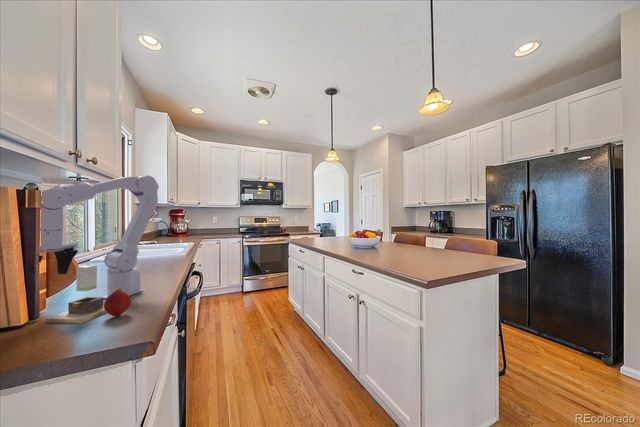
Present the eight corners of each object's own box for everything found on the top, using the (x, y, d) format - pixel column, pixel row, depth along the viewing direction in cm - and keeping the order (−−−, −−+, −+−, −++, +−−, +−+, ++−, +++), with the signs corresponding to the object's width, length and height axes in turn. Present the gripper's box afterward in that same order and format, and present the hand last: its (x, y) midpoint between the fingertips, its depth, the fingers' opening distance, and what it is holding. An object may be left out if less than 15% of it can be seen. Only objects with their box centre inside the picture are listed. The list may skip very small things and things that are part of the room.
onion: (115, 321, 66) (115, 291, 66) (98, 319, 67) (98, 290, 67) (135, 313, 72) (135, 285, 72) (119, 311, 73) (119, 284, 73)
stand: (90, 305, 78) (90, 293, 78) (120, 306, 77) (120, 293, 77) (46, 322, 66) (46, 307, 66) (81, 323, 65) (82, 308, 65)
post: (86, 287, 73) (87, 265, 73) (96, 288, 73) (96, 265, 73) (76, 290, 70) (76, 267, 70) (86, 291, 70) (86, 267, 70)
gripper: (62, 229, 80) (62, 271, 79) (3, 231, 65) (2, 283, 65) (83, 229, 79) (83, 271, 79) (28, 232, 65) (27, 283, 65)
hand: (48, 277), depth 72 cm, fingers open, 7 cm apart
